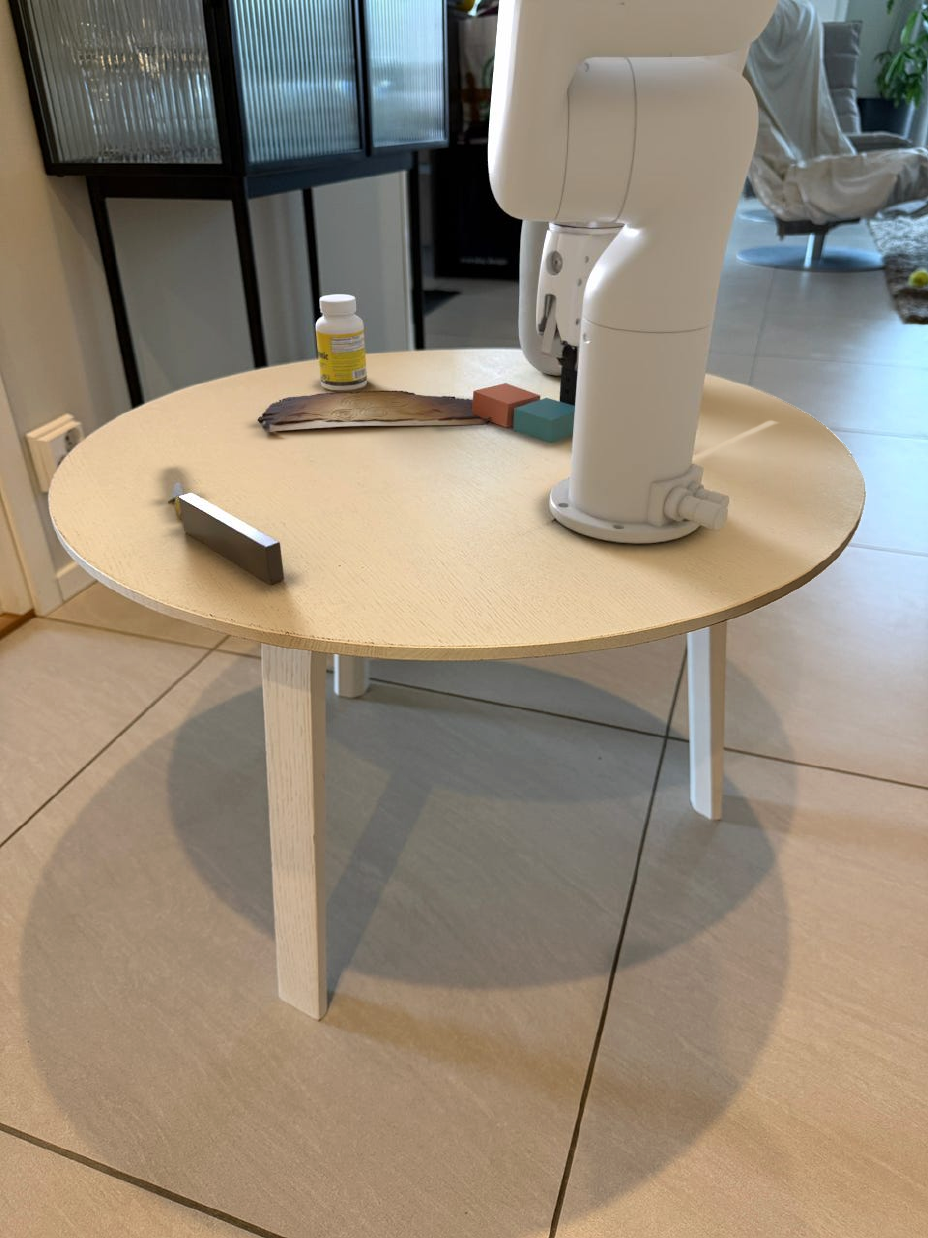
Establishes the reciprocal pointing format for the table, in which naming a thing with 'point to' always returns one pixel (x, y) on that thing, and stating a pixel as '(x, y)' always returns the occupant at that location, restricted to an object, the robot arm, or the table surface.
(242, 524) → the stop bar
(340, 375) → the supplement bottle
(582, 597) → the table surface
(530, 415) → the tile
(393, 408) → the parchment
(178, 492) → the dagger
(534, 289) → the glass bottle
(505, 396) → the tile
